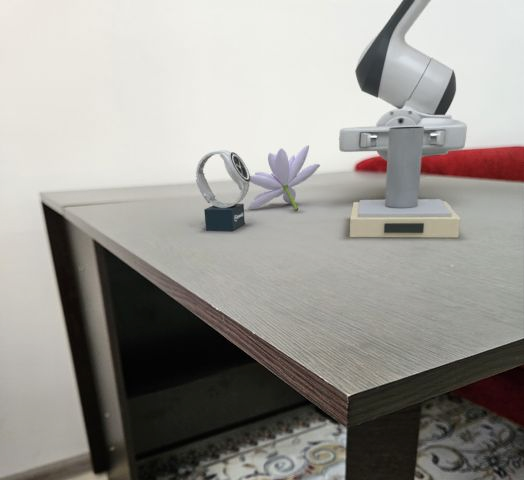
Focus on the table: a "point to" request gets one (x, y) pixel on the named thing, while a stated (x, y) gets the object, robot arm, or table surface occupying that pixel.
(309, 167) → the water lily
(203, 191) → the watch
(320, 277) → the table surface
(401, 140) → the grey tall cylinder
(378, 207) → the scale
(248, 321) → the table surface
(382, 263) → the table surface
